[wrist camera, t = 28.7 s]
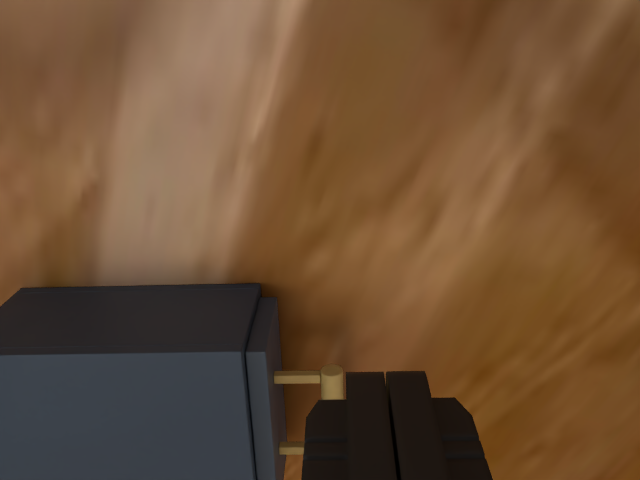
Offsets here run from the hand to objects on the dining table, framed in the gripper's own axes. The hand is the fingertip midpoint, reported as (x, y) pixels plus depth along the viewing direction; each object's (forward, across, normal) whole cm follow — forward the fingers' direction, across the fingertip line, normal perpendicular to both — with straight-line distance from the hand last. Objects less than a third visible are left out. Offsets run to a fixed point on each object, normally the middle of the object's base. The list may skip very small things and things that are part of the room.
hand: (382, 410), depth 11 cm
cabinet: (+27, +15, +17) cm, 35 cm away
